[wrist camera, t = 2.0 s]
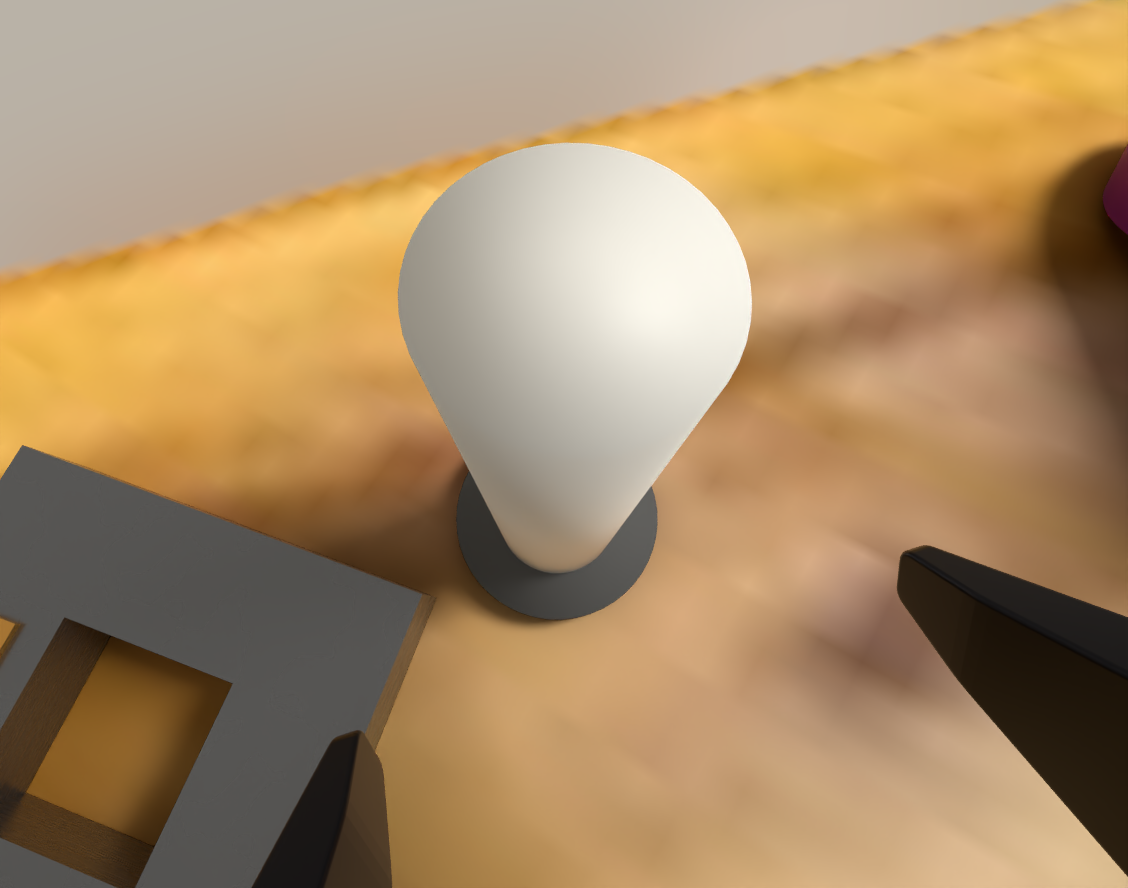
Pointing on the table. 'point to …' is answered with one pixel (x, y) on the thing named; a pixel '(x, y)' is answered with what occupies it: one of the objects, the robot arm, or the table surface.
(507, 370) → the peg
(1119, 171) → the mounting bracket
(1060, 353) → the table surface
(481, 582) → the pad
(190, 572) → the rack plate
